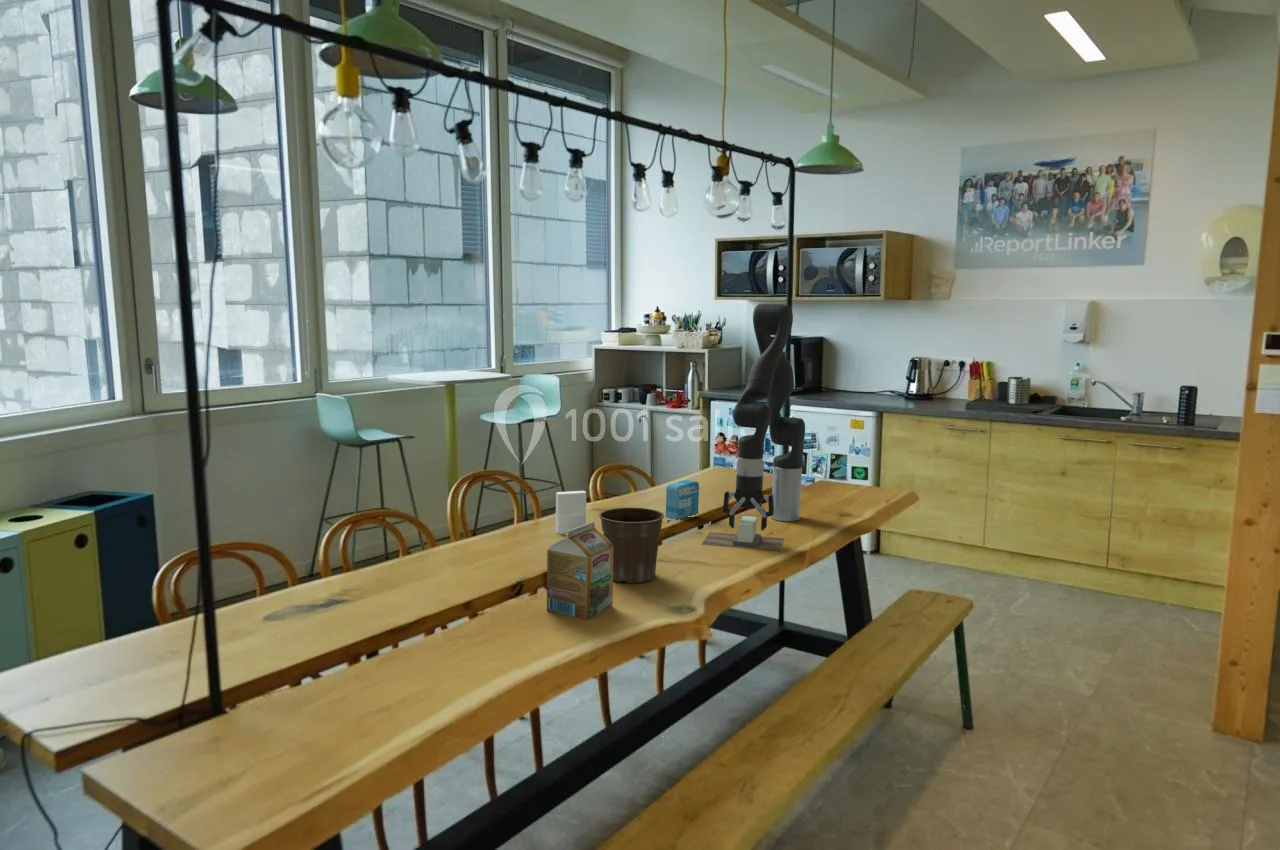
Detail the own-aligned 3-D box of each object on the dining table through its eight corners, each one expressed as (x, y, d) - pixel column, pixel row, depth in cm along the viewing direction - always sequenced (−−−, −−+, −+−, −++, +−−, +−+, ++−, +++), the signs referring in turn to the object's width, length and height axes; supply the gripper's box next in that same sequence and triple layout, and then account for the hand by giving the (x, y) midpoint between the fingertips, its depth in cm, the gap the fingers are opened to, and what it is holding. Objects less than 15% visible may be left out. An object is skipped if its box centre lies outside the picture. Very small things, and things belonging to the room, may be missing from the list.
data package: (676, 523, 272) (677, 486, 270) (665, 521, 275) (666, 484, 273) (698, 517, 281) (699, 481, 280) (687, 514, 284) (688, 479, 282)
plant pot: (585, 573, 219) (586, 511, 217) (636, 563, 229) (637, 503, 227) (623, 591, 206) (624, 525, 204) (675, 579, 216) (677, 516, 214)
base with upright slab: (560, 536, 254) (561, 496, 252) (552, 529, 262) (552, 490, 261) (589, 534, 257) (590, 494, 256) (580, 526, 266) (580, 488, 264)
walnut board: (709, 537, 257) (709, 532, 257) (783, 543, 252) (784, 538, 252) (701, 549, 243) (701, 544, 243) (780, 556, 238) (780, 551, 238)
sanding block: (737, 536, 253) (738, 515, 252) (761, 538, 251) (762, 517, 250) (732, 545, 243) (733, 523, 242) (757, 547, 242) (758, 525, 241)
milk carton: (573, 597, 201) (574, 518, 198) (612, 606, 196) (613, 524, 193) (546, 611, 192) (547, 527, 189) (586, 620, 187) (587, 534, 184)
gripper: (776, 472, 246) (773, 527, 249) (726, 468, 250) (724, 523, 252) (774, 477, 239) (771, 534, 241) (722, 473, 242) (720, 529, 245)
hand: (747, 528), depth 247 cm, fingers open, 8 cm apart
